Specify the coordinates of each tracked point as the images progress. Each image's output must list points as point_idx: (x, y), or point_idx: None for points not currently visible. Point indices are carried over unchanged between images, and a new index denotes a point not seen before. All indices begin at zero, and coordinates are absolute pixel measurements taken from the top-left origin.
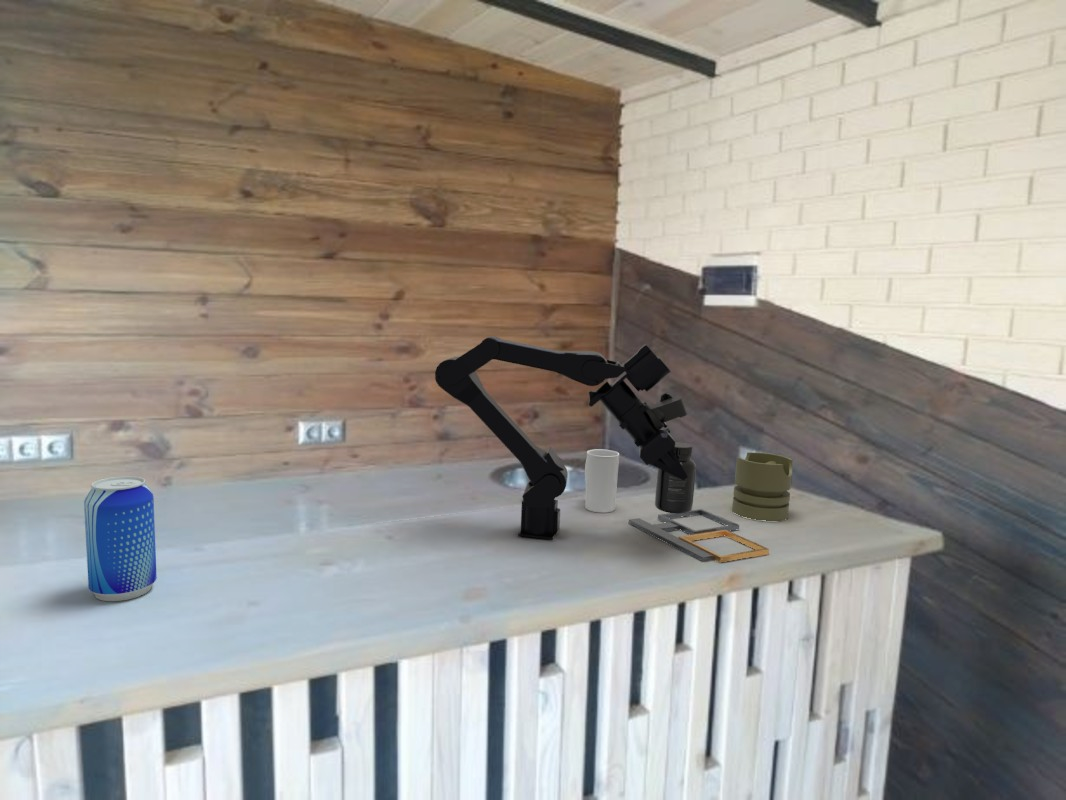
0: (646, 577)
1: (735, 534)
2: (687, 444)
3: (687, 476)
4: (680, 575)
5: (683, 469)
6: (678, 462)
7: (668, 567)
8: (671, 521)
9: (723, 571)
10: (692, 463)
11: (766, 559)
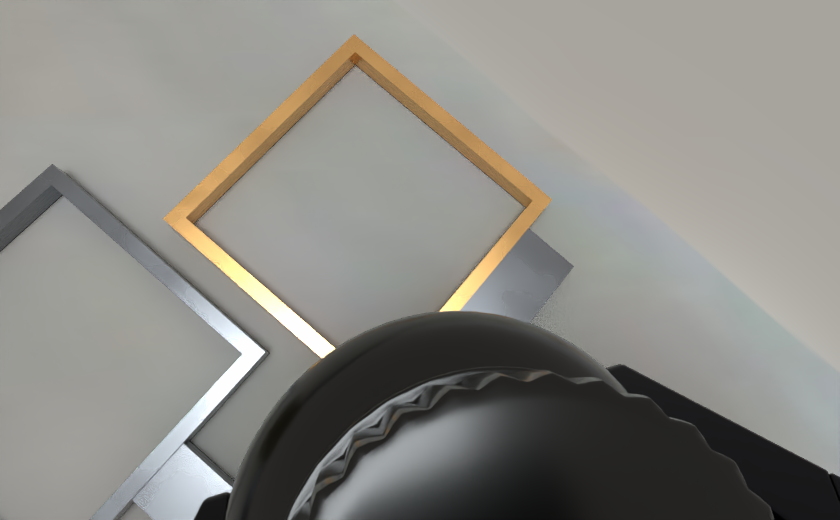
0: (827, 436)
1: (218, 169)
2: (410, 497)
3: (620, 366)
4: (740, 324)
5: (707, 409)
6: (832, 481)
7: (691, 382)
8: (130, 501)
9: (618, 188)
10: (523, 340)
11: (413, 54)
